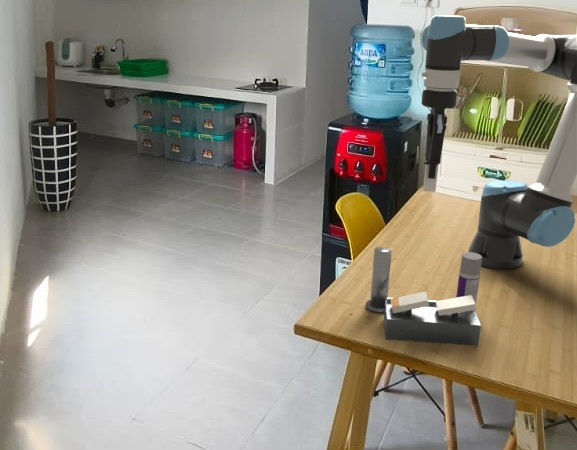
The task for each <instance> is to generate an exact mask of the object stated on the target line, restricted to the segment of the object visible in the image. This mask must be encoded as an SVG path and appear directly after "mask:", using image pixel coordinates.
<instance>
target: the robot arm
mask: <svg viewBox="0 0 577 450" xmlns="http://www.w3.org/2000/svg"><path fill="white" fill-rule="evenodd" d="M420 40H421V45H422V48H423V49H424V50H425V51H426V55H425V66H424V68H425V69H424V71H425V72H422V73H421V77H423V78H424V79H423V86H424V87H425V88H423V89H422V94H421V105H422V106H423V107H425V108H430V113H427V116H426V121H427V127H426V142H425V143H426V144H425V145H426V146H425V152H424V153H425V154H424V156H425V160H424V162H423V164H424V165H425V167H424V175H423V176H424V178H423V185H422V186H423V187H422V188H423V189H422V190H423V192H430V193H431V192H433V193H435V192H436V191H437V182H438V181H437V180H438V172H439V165H440V164H441V162H442V160H441V159H442V154H443V147H444V139H445V135H446V130H447V123H448V116H447V115H446V110H447V109H453V108H455V107H456V105H457V97H458V92H457V90H456V89H457V88H459V83H460V82H459V81H460V74H461V65H462V62H465V61H485V62H492V63H497V64H498V63H499V64H506V65H514V66H520V67H527V68H528V69H529V70H530V71H532V72H535V73H542V74H545V75H549V76H552V77H555V78H559V79H561V80H566V81H568V82H567V84H566V87H567V88H568V90H569V92H570V93H569V97H568V99H567V102H566V104H565V106H564V109H563V112H562V114H561V117H560V120H559V122H558V125H557V127H556V130H555V133H554V135H553V137H552V141H551V143H550V146H549V148H548V150H547V153H546V156H545V158H544V161H543V164H542V166H541V168H540V170H539V174H538V176H537V179H536V181H535V182H534V183H532V184H529V185H527V184H526V183H525V182H523V181H515V180H494V181H490V182H486V184H484V186H483V188H482V195H481V198H480V206H479V207H480V208H479V215H478V224H477V230H476V233H475V235H474V237H473V239H472V241H471V243H470V244H469V246H468V251H467V252H473V253H477V254H479V255H481V256H482V262H481V267H486V268H490V269H497V270H510V269H511V270H512V269H515V268H519V267H520V266H521V265H522V264H523V260H524V259H523V257H524V253H523V248H522V244H521V238H523V239H525V240H526V241H527V240H528V241H529V242H530V243H532V244H535V245H538V246H541V247H545V248H551V247H554V246H558V245H559V244H560V243H562V242H564V241H565V240H566V239H567V238H568V236H569V235H570V234H571V232H572V230H573V229H574V228H575V223H576V218H575V216H576V215H575V212H574V211H573V209H572V207H571V206H572V204H573V202H574V201H573V198H572V196H571V194H570V192H571V189H572V187H573V185H574V182H575V180H576V177H577V34H561V35H559V34H557V35H556V34H555V35H554V34H546V33H545V34H544V33H541V34H538V35H536V36H532V35H526V34H525V35H524V34H519V33H515V32H508V31H507V29H506V28H504V27H503V26H500V25H494V24H489V25H485V24H483V25H481V24H472V23H471V24H469V23H468V24H467V23H466V17H465V16H463V15H443V14H442V15H440V14H439V15H437V14H436V15H434V16H432V17H431V18H430V22H429V24H428V25H426V27H424V29H423V31H422V35H421V39H420Z"/></svg>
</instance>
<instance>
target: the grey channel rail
mask: <svg viewBox="0 0 577 450" xmlns="http://www.w3.org/2000/svg"><path fill="white" fill-rule="evenodd" d="M391 298H392V297H387V301H385V308H384V313H383V329H384V338H385V340H389V341H392V340H393V341H402V342H414V343H415V342H417V343H430V344H431V343H432V344H446V345H459V346H460V345H462V346H472V347H473V346H474V347H478V346H479V342H480V337H481V336H480V334H481V330H482V329H481V328H482V324H481V321H480V319H479V317H478V314H477V312H476V310H471V311H465V312H459V313H453V314H447V315H441V316H439V314H438V310H437V307H436V301H437V300H431V299H430V300H429V299H428V302H429V306H426V307H421V308H417V309H412V310H407V311H402V312H397V313H393V311H392V306H391Z"/></svg>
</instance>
